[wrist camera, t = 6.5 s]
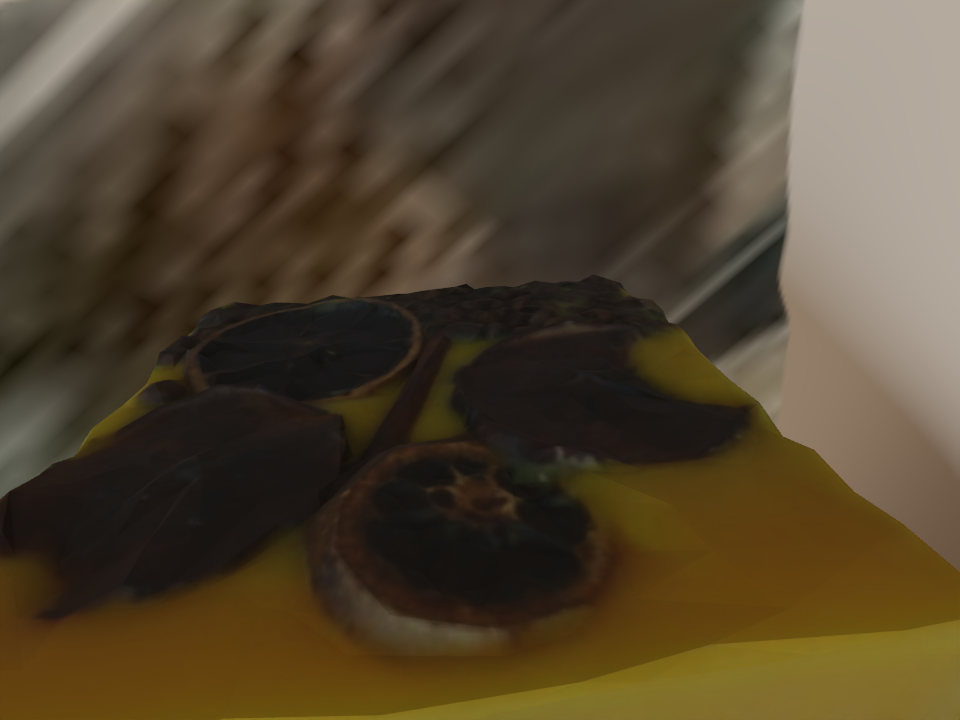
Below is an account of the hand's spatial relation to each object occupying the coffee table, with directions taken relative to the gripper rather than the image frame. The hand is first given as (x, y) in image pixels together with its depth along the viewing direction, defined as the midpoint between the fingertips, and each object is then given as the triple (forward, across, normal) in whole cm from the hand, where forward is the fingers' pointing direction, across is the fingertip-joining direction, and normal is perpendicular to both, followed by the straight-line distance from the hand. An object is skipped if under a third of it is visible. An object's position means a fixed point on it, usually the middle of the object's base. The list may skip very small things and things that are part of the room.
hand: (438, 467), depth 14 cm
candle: (+1, 0, 0) cm, 1 cm away
